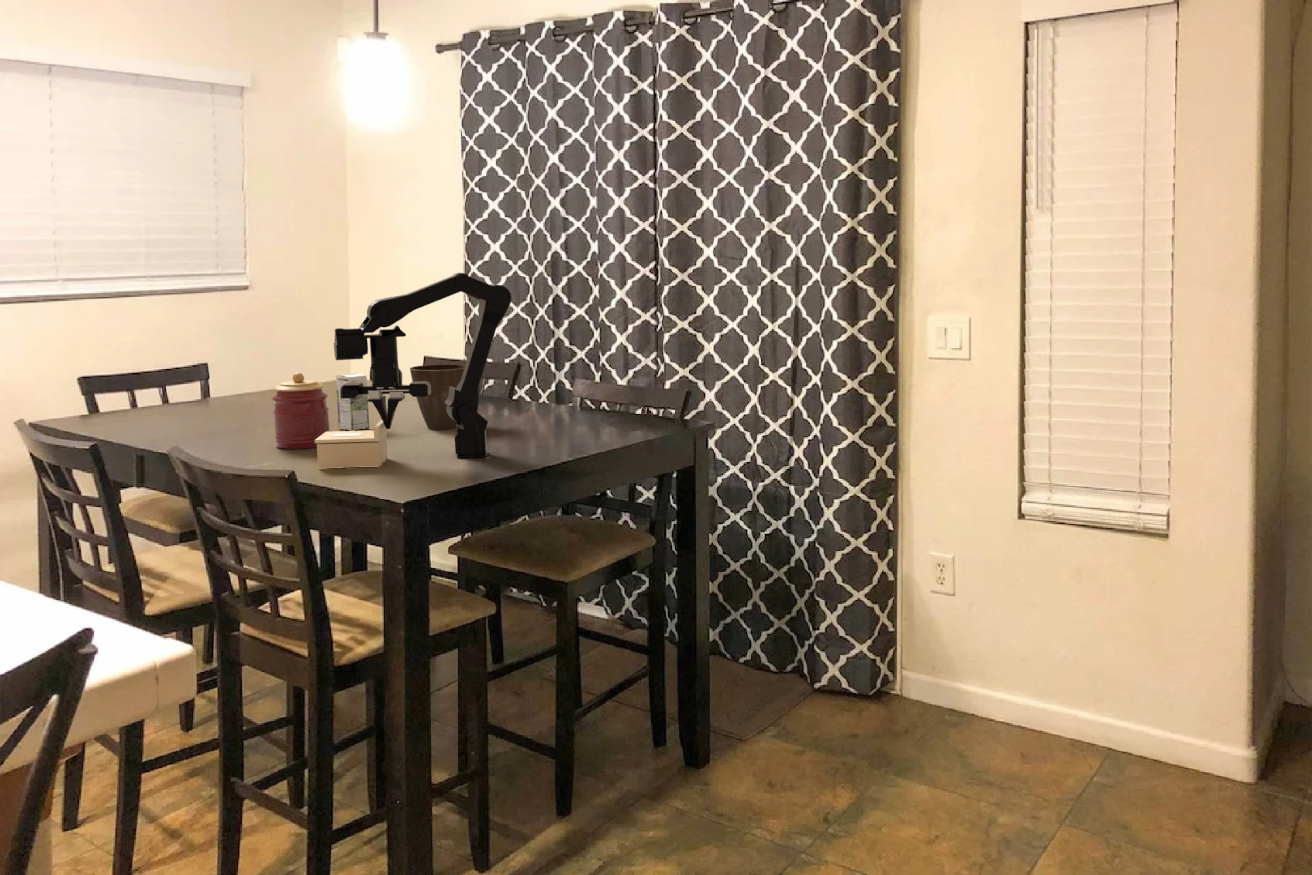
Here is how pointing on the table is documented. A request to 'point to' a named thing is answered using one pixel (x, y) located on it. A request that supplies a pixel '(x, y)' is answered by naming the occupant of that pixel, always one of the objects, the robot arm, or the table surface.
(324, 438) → the cream angled plate
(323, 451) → the base
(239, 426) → the table surface
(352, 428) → the syrup box
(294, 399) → the canister
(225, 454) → the table surface
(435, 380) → the plant pot
